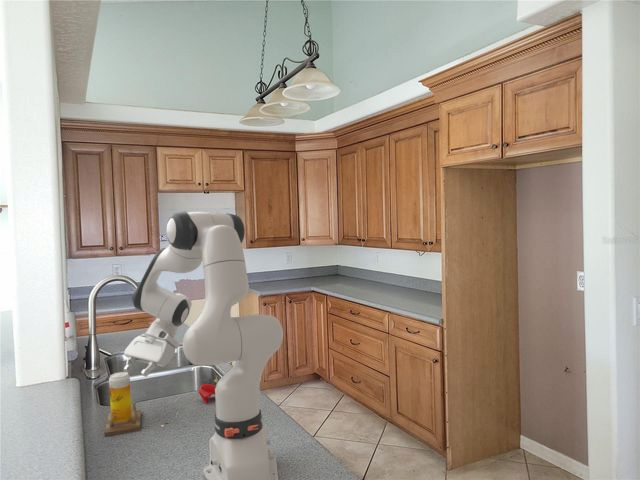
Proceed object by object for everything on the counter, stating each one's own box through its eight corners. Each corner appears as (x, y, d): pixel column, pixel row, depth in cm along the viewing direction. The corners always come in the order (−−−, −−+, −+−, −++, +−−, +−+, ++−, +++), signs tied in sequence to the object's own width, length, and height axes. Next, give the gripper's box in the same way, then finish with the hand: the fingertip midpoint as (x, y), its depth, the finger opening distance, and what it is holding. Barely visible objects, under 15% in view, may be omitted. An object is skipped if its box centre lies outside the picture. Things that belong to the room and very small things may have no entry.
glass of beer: (108, 421, 151) (105, 375, 150) (127, 415, 155) (125, 370, 155) (115, 427, 147) (112, 379, 146) (135, 420, 151) (132, 374, 150)
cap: (199, 397, 164) (214, 386, 165) (194, 387, 168) (208, 376, 170) (210, 409, 168) (224, 399, 170) (205, 399, 173) (218, 389, 174)
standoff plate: (140, 430, 146) (139, 413, 146) (104, 436, 143) (103, 419, 143) (140, 413, 160) (139, 398, 159) (108, 418, 156) (107, 403, 156)
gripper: (134, 328, 166) (109, 363, 159) (171, 335, 154) (147, 373, 147) (146, 338, 170) (122, 373, 162) (183, 345, 158) (160, 383, 151)
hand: (134, 373), depth 155 cm, fingers open, 8 cm apart
